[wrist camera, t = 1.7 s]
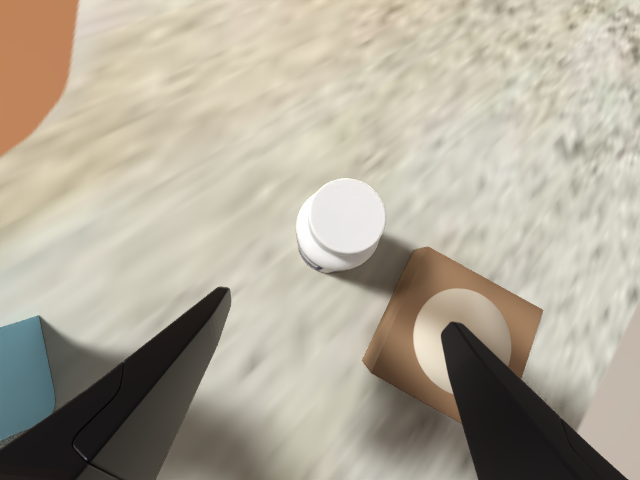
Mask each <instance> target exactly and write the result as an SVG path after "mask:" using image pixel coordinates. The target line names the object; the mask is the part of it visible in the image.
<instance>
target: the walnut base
mask: <svg viewBox="0 0 640 480" xmlns="http://www.w3.org/2000/svg"><path fill="white" fill-rule="evenodd" d="M542 313H543V310H542V309H540V308H539V307H537V306H535V305H533V304H531V303H529V302H528V301H526V300H524V299H522V298H520V297H519V296H517V295H515V294H513V293H511V292H510V291H508V290H506V289H504V288H502V287H501V286H499V285H497V284H495V283H493V282H491V281H490V280H488V279H486V278H484V277H482V276H481V275H479V274H477V273H475V272H473V271H472V270H470V269H468V268H466V267H464V266H462V265H461V264H459V263H457V262H455V261H453V260H452V259H450V258H448V257H446V256H444V255H443V254H441V253H439V252H437V251H435V250H433V249H432V248H430V247H424V248H420V249H416V250H413V252H412V254H411V256H410V258H409V261H408V263H407V265H406V267H405V269H404V271H403V274H402V276H401V278H400V280H399V282H398V284H397V287H396V289H395V291H394V293H393V295H392V297H391V299H390V302H389V304H388V306H387V308H386V310H385V312H384V315H383V317H382V319H381V321H380V323H379V325H378V328H377V330H376V332H375V334H374V336H373V338H372V341H371V343H370V345H369V347H368V349H367V351H366V353H365V356H364V358H363V360H362V361H363V363H364V364H365V365H366V367H367V368H368V369H369V371H370V372H371V373H372V374H374V375H376V376H377V377H379V378H381V379H383V380H385V381H386V382H388V383H390V384H392V385H394V386H395V387H397V388H399V389H401V390H403V391H404V392H406V393H408V394H410V395H411V396H413V397H415V398H417V399H419V400H420V401H422V402H424V403H426V404H428V405H429V406H431V407H433V408H435V409H437V410H438V411H440V412H442V413H444V414H446V415H447V416H449V417H451V418H453V419H454V420H456V421H458V422H460V423H462V422H461V419H460V415H459V412H458V408H457V405H456V401H455V398H454V395H453V391H452V388H451V384H450V381H449V377H448V373H447V368H446V363H445V358H444V352H443V347H442V342H441V332H442V331H443V330H444V328H445V327H446V326H447V325H448V324H449V323H450V322H452V321H454V322H460V323H463V324H464V325H465V326H466V327H467V328H468V329H469V330H470V331H471V332H472V333H473V334H474V335H475V336H476V337H477V338H479V339H480V340H481V341H482V342H483V343H484V344H485V345H486V346H487V347H488V348H489V349H490V350H491V351H492V352H493V353H494V354H495V355H496V356H497V357H498V358H499V359H500V360H501V361H502V362H503V363H505V364H506V365H507V366H508V367H509V368H510V369H511V370H512V371H513V372H514V373H515V374H516V375H517V376H518V377H519V378H520V379H521V378H522V375H523V371H524V368H525V365H526V362H527V359H528V356H529V353H530V350H531V347H532V344H533V341H534V337H535V334H536V331H537V328H538V325H539V322H540V319H541V316H542Z"/></svg>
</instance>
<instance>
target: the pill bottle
mask: <svg viewBox="0 0 640 480" xmlns="http://www.w3.org/2000/svg"><path fill="white" fill-rule="evenodd" d="M385 224H386V211H385V207H384V204H383V202H382V200H381V198H380V196H379V195H378V194H377V192H376V191H375V190H374V189H373V188H372V187H370V186H369V185H368V184H366V183H364V182H362V181H359V180H356V179H351V178H342V179H336V180H333V181H331V182H328V183H327V184H325V185H323V186H322V187H321V188H320V189H319V190H318V191H317V192H316V193H315V194H313V195H312V196H311V197H310V198H308V200H307V201H306V202H305V203H304V204H303V206H302V208H301V210H300V212H299V215H298V218H297V224H296V235H297V242H298V249H299V252H300V255H301V257H302V259H303V260H304V261H305V263H306V264H307V265H308V266H310V267H311V268H313V269H314V270H317V271H320V272H324V273H333V272H339V271H344V270H349V269H352V268H355V267H357V266H359V265H361V264H363V263H364V262H365V261H367V260H368V259H369V258H370V257H371V256H372V254H373V253H374V251H375V250H376V248H377V246H378V243H379V240H380V237H381V236H382V234H383V231H384V228H385Z"/></svg>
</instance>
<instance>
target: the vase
mask: <svg viewBox="0 0 640 480" xmlns="http://www.w3.org/2000/svg"><path fill="white" fill-rule="evenodd" d="M54 407H55V394H54V388H53V383H52V378H51V373H50V368H49V363H48V358H47V353H46V348H45V344H44V339H43V334H42V329H41V324H40V319H39V315H38V316H35V317H32V318H29V319H26V320H23V321H20V322H17V323H14V324H10V325H7V326H4V327H0V441H1V440H3V439H5V438H8V437H10V436H13V435H15V434H17V433H20V432H22V431H25V430H27V429H30V428H32V427H33V426H35V425H36V424H37V423H39V422H40V421H42V420H43V419H45V418H46V417H48V416H49V415H51V414H52V412H53V410H54Z"/></svg>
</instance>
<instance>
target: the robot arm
mask: <svg viewBox="0 0 640 480" xmlns="http://www.w3.org/2000/svg"><path fill="white" fill-rule="evenodd" d="M230 307H231V293H230V289H229V288H227V287H217V288H216V289H215V290H213V291H212V292H211V293H210V294H208V295H207V296H206V297H205V298H203V299H202V300H201V301H199V302H198V303H197V304H196V305H194V306H193V307H192V308H191V309H189V310H188V311H187V312H185V313H184V314H183V315H182V316H180V317H179V318H178V319H176V320H175V321H174V322H173V323H171V324H170V325H169V326H168V327H166V328H165V329H164V330H162V331H161V332H160V333H159V334H157V335H156V336H155V337H154V338H152V339H151V340H150V341H148V342H147V343H146V344H145V345H143V346H142V347H141V348H140V349H138V350H137V351H136V352H134V353H133V354H132V355H131V356H129V357H128V358H127V359H125V361H124V362H122V363H120V364H119V365H118V366H116V367H115V368H114V369H113V370H111V371H110V372H109V373H107V374H106V375H105V376H103V377H102V378H101V379H99V380H98V381H97V382H96V383H94V384H93V385H92V386H90V387H89V388H88V389H86V390H85V391H83V392H82V393H81V394H79V395H78V396H76V397H75V398H73V399H72V400H71V401H69V402H68V403H66V404H65V405H64V406H62V407H61V408H59V409H58V410H56V411H55V412H53V413H52V414H51V415H49V416H48V417H46V418H45V419H43V420H42V421H40V422H39V423H37V424H36V425H35V426H33V427H32V428H30V429H29V430H27V431H26V432H24V433H23V434H21V435H20V436H18V437H17V438H16V439H14V440H13V441H11V442H10V443H8V444H7V445H5V446H4V447H2V448H1V449H0V480H155V479H156V477H157V475H158V473H159V471H160V469H161V466H162V464H163V462H164V460H165V458H166V456H167V453H168V451H169V449H170V447H171V445H172V443H173V440H174V438H175V436H176V434H177V432H178V430H179V428H180V425H181V423H182V421H183V419H184V417H185V415H186V412H187V410H188V408H189V406H190V404H191V402H192V399H193V397H194V395H195V393H196V391H197V389H198V386H199V384H200V382H201V380H202V378H203V376H204V373H205V371H206V369H207V367H208V365H209V363H210V360H211V358H212V356H213V354H214V352H215V350H216V347H217V345H218V342H219V339H220V336H221V334H222V331H223V328H224V325H225V322H226V319H227V316H228V313H229V310H230ZM441 342H442V347H443V352H444V358H445V363H446V368H447V373H448V377H449V381H450V384H451V388H452V391H453V395H454V398H455V401H456V405H457V408H458V412H459V415H460V419H461V422H462V425H463V429H464V432H465V436H466V439H467V443H468V446H469V449H470V453H471V456H472V460H473V463H474V466H475V470H476V473H477V477H478V480H628V479H627V478H626V477H624V476H623V475H622V474H621V473H620V472H619V471H618V470H617V469H616V468H614V467H613V466H612V465H611V464H610V463H609V462H608V461H607V460H606V459H604V458H603V457H602V456H601V455H600V454H599V453H598V452H597V451H596V450H595V449H593V448H592V447H591V446H590V445H589V444H588V443H587V442H586V441H585V440H584V439H583V438H582V437H581V436H580V435H579V434H578V433H576V432H575V431H574V430H573V429H572V428H571V427H570V426H569V425H568V424H567V423H566V422H565V421H564V420H563V419H562V418H560V417H559V415H558V414H557V413H556V412H555V411H553V410H552V409H551V408H550V407H549V406H548V405H547V404H546V403H545V402H544V401H543V400H542V399H541V398H540V397H539V396H538V395H537V394H536V393H535V392H534V391H533V390H532V389H531V388H530V387H528V386H527V385H526V384H525V383H524V382H523V381H522V380H521V379H520V378H519V377H518V376H517V375H516V374H515V373H514V372H513V371H512V370H511V369H510V368H509V367H508V366H507V365H506V364H505V363H503V362H502V361H501V360H500V359H499V358H498V357H497V356H496V355H495V354H494V353H493V352H492V351H491V350H490V349H489V348H488V347H487V346H486V345H485V344H484V343H483V342H482V341H481V340H480V339H479V338H477V337H476V336H475V335H474V334H473V333H472V332H471V331H470V330H469V329H468V328H467V327H466V326H465V325H464V324H463V323H460V322H454V321H452V322H450V323H449V324H448V325H447V326H446V327H445V328H444V330H443V331H442V332H441Z"/></svg>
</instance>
